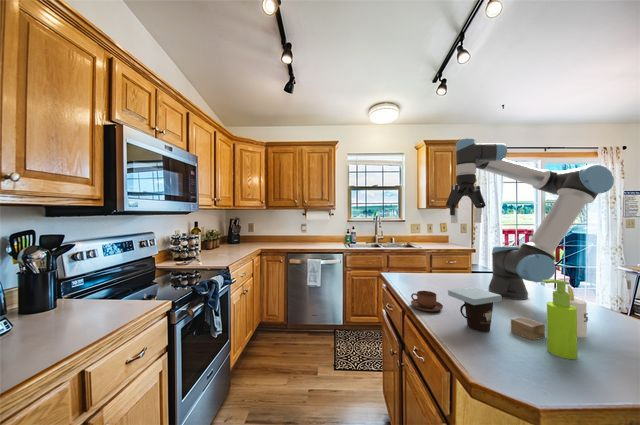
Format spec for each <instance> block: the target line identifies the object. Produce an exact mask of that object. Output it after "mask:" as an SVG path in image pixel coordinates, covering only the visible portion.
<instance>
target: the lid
mask: <svg viewBox="0 0 640 425" xmlns="http://www.w3.org/2000/svg"><path fill="white" fill-rule="evenodd" d="M447 295H448V296H449V297H452V298H454V299H458V300H459V301H462V302H467V303H470V304H472V305H478V304H485V303H491V302H494V303H497V302H502V297H501V295H498V294H495V293H492V292H489V291H488V290H484V289H483V288H479V287H476V286H471V287H462V288H455V289H448V290H447Z"/></svg>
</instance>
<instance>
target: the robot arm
mask: <svg viewBox="0 0 640 425" xmlns="http://www.w3.org/2000/svg"><path fill="white" fill-rule="evenodd" d="M507 154H508V146H507V145H506V143H502V142H492V143H477V141H476V138H471V137H469V138H468V137H466V138H462V139H459V140H458V141H456V143H455V175H456V176H455V183H456V184H454V185H451V190H450V193H449V195H448V197H447V200H446V203H445V206H446V207H447V208H448V209H449V215H450V224H458V223H459V222H458V207H457V206H458V205H459V203H460V201H461V199H462V198H463V197H464V196H465V197H468V198H469V199H470V201H471V203H472V204H473V205H474V208H473V209H474V210H473V212H474V213H473V215H474V216H473V219H474V224H476V223H477V224H481V223H482V213H483V212H482V211H483V210H482V209H484V208H485V207H486V202H485V199H484V198H483V197H484V196H483V194H482V192H481V187H480V185H476V186H475V184H476V182H477V175H476V173H477V169H478V170H482V171H485V172H489V173H491V174H495V175H498V176H501V177H504V178H508V179H512V180H514V181H516V182H520V183H524V184H527V185H530V186H532V188H533V189H536V190H538V191H542V192H546V193H548V194H552V195H557V196H558V197H557V198H556V199H555V201H554V203H553V205H552V206H551V208H550V209H549V211H548V212H547V213H546V216H545V217H544V219H543V220H542V222H540V225H539V226H538V227H537V229H536V230H535V232H534V234H532V236H531V238H530V240H529V241H528V242H524V243H522V244H521V245H520V246H494V247H492V252H491V256H492V257H491V258H492V260H491V261H492V263H491V266H492V268H491V269H492V276H491V279H490V282H489V285H488V290H487V291H489V292H492V293H495V294H498V295H501V298H504V299H505V298H506V299H511V300H512V299H513V300H526V299H528V298H529V292H528V289H527V288H526V284H525V281H527V282H528V281H529V282H533V283H544V282H543V281H542V280H546V279H551V278H552V277H554V274H555V273H556V268H557V267H556V263H555V262H554V261H555V259H556V256H555V254H554V252H555V251H556V249H557V248H558V246H559V244H560V243H561V242H562V240H563V239H564V237H565V236H566V234H567V233H568V231H569V229H570V228H571V227H572V225H573V224H574V222H575V221H576V220H577V217H578V216H579V214H580V213H581V212H582V211H583V208H584V207H585V206H586V204H591V203H594V201H595V199H596V198H597V197H598V195H599V194H604V193H606V192H609V191H610V190H611V189H612V188H613V186H614V183H615V178H614V176H613V173H612V171H611V170H610V169H608V168H607V167H605V166H603V165H602V164H601V165H600V164H591V165H588V164H587V165H583V166H582V167H577V168H569V169H566V170H550V169H546V168H545V169H538V168H535V167H532V166H528V165H525V164H522V163H518V162H515V161H512V160H507V159H505V158H506V157H507ZM524 280H525V281H524Z"/></svg>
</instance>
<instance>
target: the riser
mask: <svg viewBox="0 0 640 425" xmlns="http://www.w3.org/2000/svg"><path fill="white" fill-rule="evenodd" d="M545 326H546V324H545V323H542V322H539V321H536V320H534V319H531V318H528V317H525V316H521V317H515V318H511V319H510V331H511V333H514V334H517V335H519V336H521V337H524V338H526V339H528V340H530V339H531V341H534V339H535V340H538V338H539V339H543V338H546V332H545V330H546V329H545V328H546V327H545Z"/></svg>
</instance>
